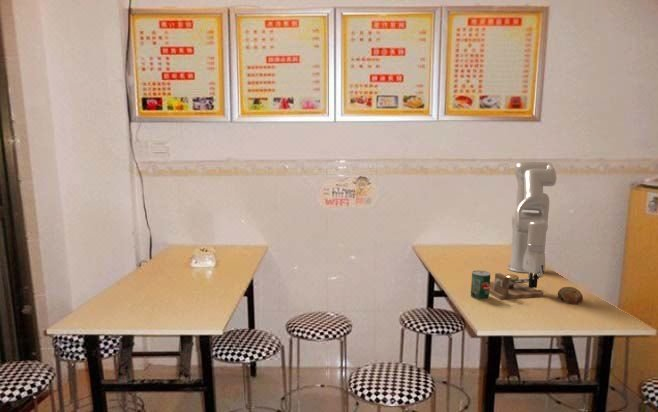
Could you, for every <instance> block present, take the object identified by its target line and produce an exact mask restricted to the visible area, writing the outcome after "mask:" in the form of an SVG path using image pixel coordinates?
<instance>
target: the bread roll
mask: <svg viewBox="0 0 658 412" xmlns="http://www.w3.org/2000/svg"><path fill="white" fill-rule="evenodd" d="M557 299H558V301H560V302H563V303H566V304H569V305H579V304H582V302H583V300H584V297H583V294H582V292H581V291H580V290H579V289H577V288H576V287H572V286H565V287H561V288H560V289H559V290H558V291H557Z"/></svg>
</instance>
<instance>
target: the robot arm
mask: <svg viewBox="0 0 658 412" xmlns="http://www.w3.org/2000/svg"><path fill="white" fill-rule="evenodd" d="M514 174H515V178H516V181H517V190H516V208H515V210H514V213H513V215H512V217H511V226H512V237H511V238H512V239H511V251H510V252H511V253H510V254H511V255H510V264H508V265H507V266H506V269H507V270H509V271H512V272H516V273H527V275H528V276H527V277H528V279H529V283H528V286H529V287H531V288H534V289H536V288H537V287H538V280H539V279H541V278H543V277H544V274H545V272H546V239H547V232H548V228H549V225H548V223H549V221H548V220H549V212H550V196H549V195H548V194H547V193H544V187H553V186H555V185H556V183H557V172H556V170H555V167H554V166H553V163H551V162H550V161H549V162H547V161H529V160H528V161H526V160H525V161H519V162H516V164H515V167H514ZM529 211H535V212H529ZM536 211H537V212H536Z"/></svg>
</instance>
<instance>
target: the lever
mask: <svg viewBox="0 0 658 412" xmlns="http://www.w3.org/2000/svg"><path fill="white" fill-rule="evenodd" d="M504 275H505V276H507V277H509V288H510V289H511V288H514V283H523V284H527V283H528V284H529V278H520V276H518V275H516V274H512V273H510V274H509V273H507V274H504ZM519 278H520V279H519Z"/></svg>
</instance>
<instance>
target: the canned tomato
mask: <svg viewBox="0 0 658 412" xmlns="http://www.w3.org/2000/svg"><path fill="white" fill-rule="evenodd" d="M490 282H491V272H489V271H486V270H485V271H484V270H472V272H471V282H470V283H471V285H470V297H471V298H472V299H476V300H479V301H480V300H481V301H482V300H484V301H486V300H489V299H490V293H489V289H490ZM485 299H486V300H485Z"/></svg>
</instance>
